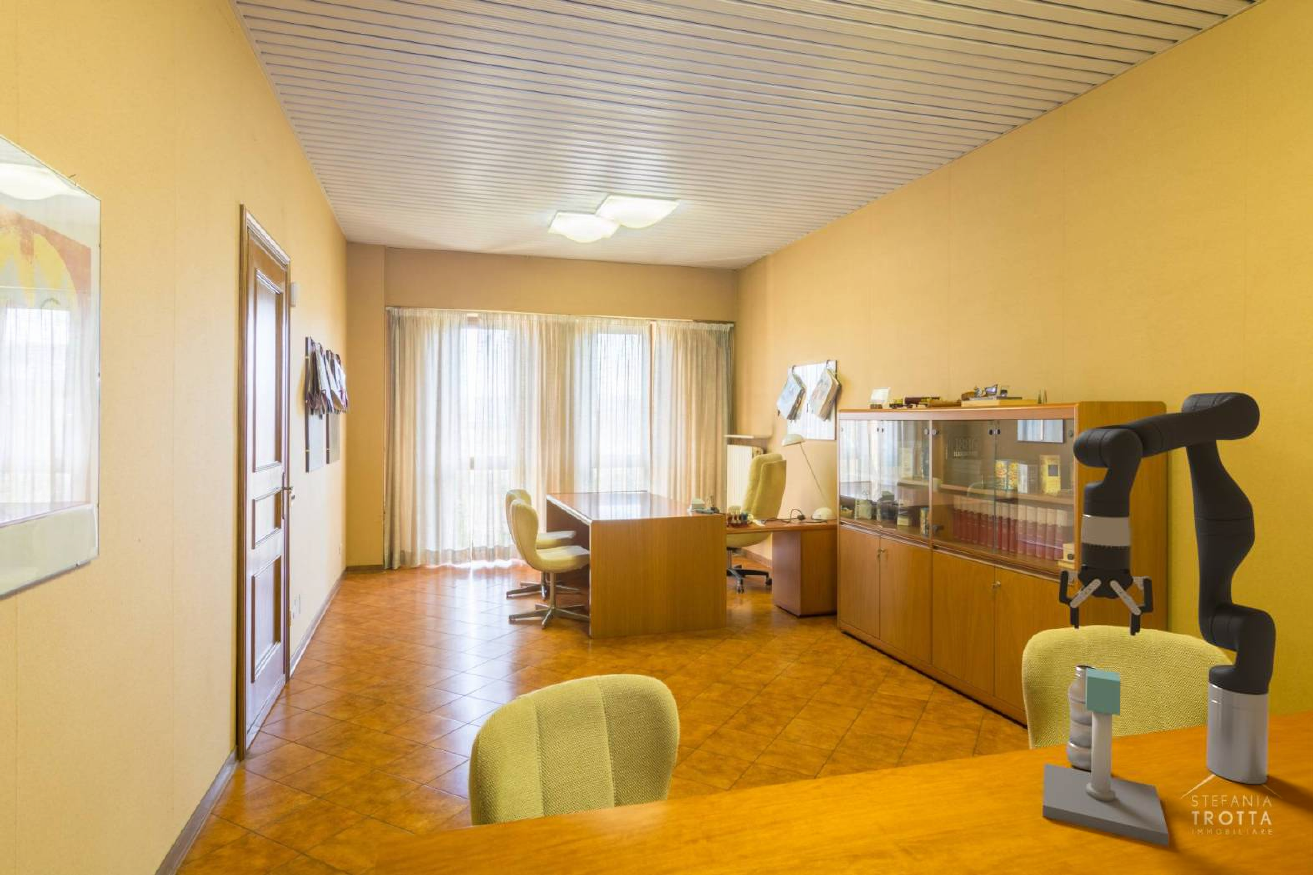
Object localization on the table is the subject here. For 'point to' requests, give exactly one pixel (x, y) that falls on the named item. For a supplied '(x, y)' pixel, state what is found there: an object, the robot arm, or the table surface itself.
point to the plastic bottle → (1079, 722)
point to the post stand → (1103, 794)
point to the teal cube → (1103, 691)
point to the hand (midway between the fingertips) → (1103, 631)
